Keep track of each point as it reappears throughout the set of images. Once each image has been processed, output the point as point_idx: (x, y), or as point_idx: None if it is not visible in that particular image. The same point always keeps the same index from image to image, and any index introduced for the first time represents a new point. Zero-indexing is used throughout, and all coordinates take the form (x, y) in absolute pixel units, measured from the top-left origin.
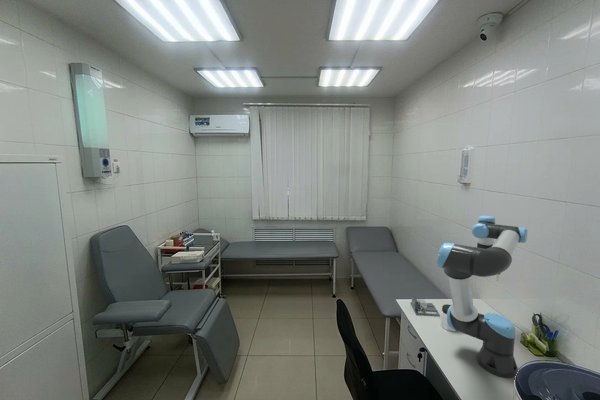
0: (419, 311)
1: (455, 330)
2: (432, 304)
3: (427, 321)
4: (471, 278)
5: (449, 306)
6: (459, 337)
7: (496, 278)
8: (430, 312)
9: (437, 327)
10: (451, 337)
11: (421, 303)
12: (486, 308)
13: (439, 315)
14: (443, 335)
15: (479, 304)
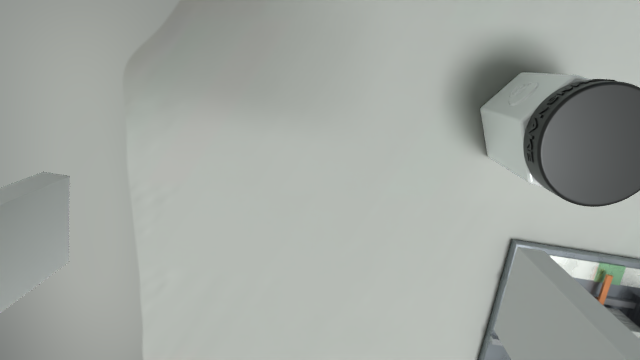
0: (633, 284)
1: (523, 72)
2: (488, 358)
3: None
4: (541, 260)
5: (592, 170)
6: (535, 9)
7: (44, 203)
8: (565, 269)
9: None
10: (587, 11)
11: (634, 330)
12: (160, 304)
13: (515, 242)
14: (625, 35)
15: (175, 348)
